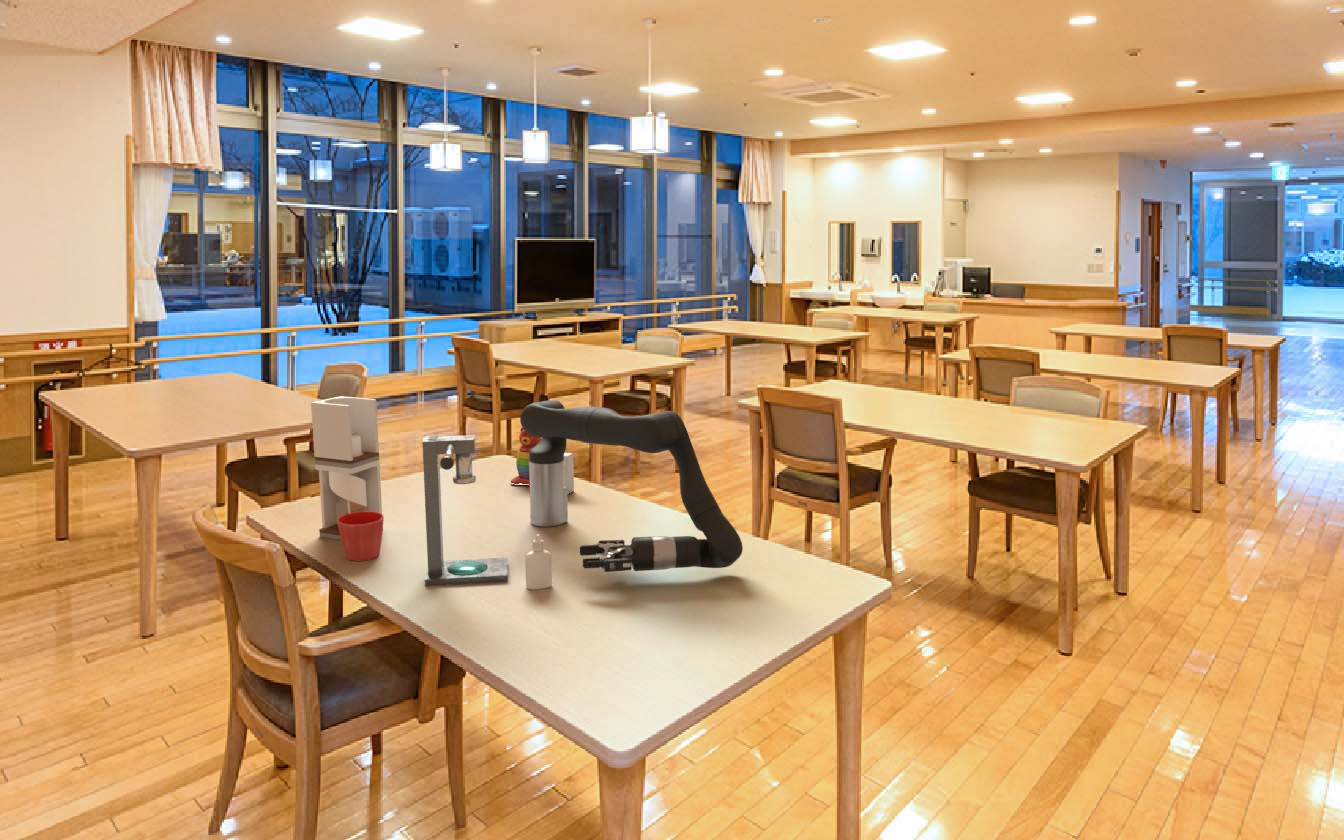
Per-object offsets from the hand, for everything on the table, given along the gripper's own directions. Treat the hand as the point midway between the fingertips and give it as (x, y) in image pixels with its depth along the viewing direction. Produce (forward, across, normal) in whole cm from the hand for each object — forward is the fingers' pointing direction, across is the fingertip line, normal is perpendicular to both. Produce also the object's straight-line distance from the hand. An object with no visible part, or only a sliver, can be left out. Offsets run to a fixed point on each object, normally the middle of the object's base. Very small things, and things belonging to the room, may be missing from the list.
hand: (581, 556), depth 209 cm
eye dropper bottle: (+9, 0, +7) cm, 12 cm away
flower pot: (+51, -27, +7) cm, 58 cm away
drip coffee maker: (+56, -46, +7) cm, 73 cm away
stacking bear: (+9, -91, +7) cm, 91 cm away
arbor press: (+25, -4, +6) cm, 26 cm away
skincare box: (0, -78, +7) cm, 79 cm away
